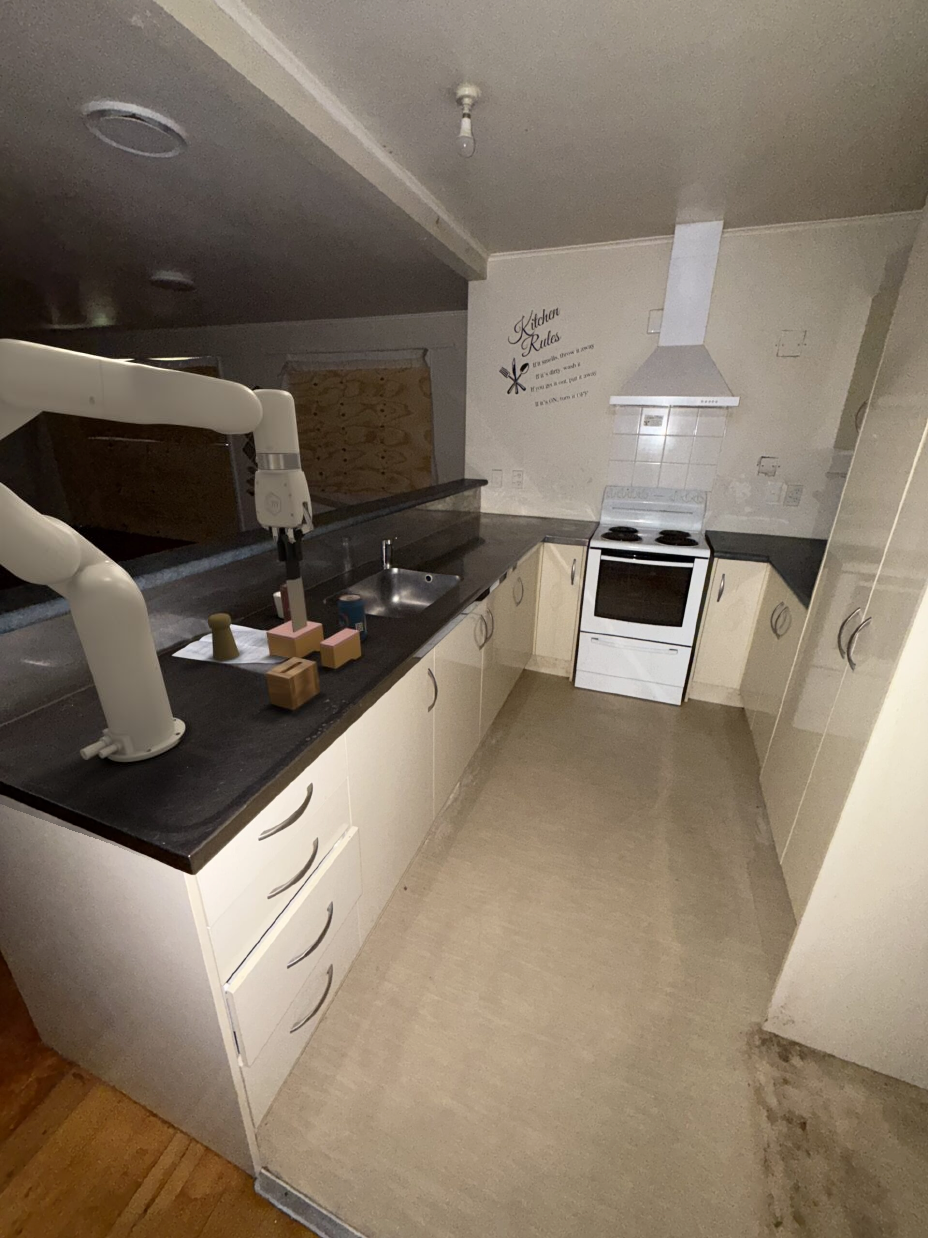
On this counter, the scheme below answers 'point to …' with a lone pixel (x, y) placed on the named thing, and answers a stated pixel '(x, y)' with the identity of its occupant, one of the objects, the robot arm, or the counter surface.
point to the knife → (294, 589)
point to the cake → (294, 640)
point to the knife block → (293, 683)
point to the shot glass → (278, 604)
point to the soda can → (352, 614)
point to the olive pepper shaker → (222, 637)
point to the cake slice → (340, 648)
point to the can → (287, 602)
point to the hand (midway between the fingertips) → (291, 560)
